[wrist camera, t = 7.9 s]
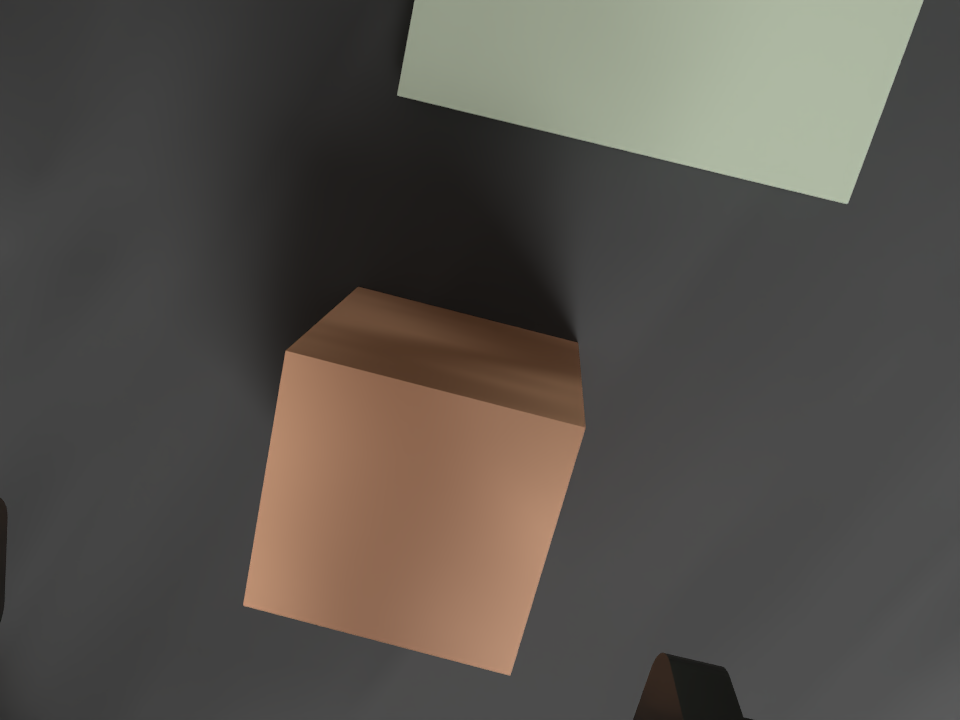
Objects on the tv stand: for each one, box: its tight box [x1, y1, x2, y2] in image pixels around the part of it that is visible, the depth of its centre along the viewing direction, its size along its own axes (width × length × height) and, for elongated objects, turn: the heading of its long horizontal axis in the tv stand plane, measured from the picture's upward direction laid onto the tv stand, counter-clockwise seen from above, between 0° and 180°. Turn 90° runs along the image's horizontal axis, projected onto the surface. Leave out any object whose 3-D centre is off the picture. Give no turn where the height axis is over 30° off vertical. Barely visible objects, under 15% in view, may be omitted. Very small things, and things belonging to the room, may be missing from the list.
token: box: [243, 287, 586, 675], centre depth 14 cm, size 4×4×4 cm
